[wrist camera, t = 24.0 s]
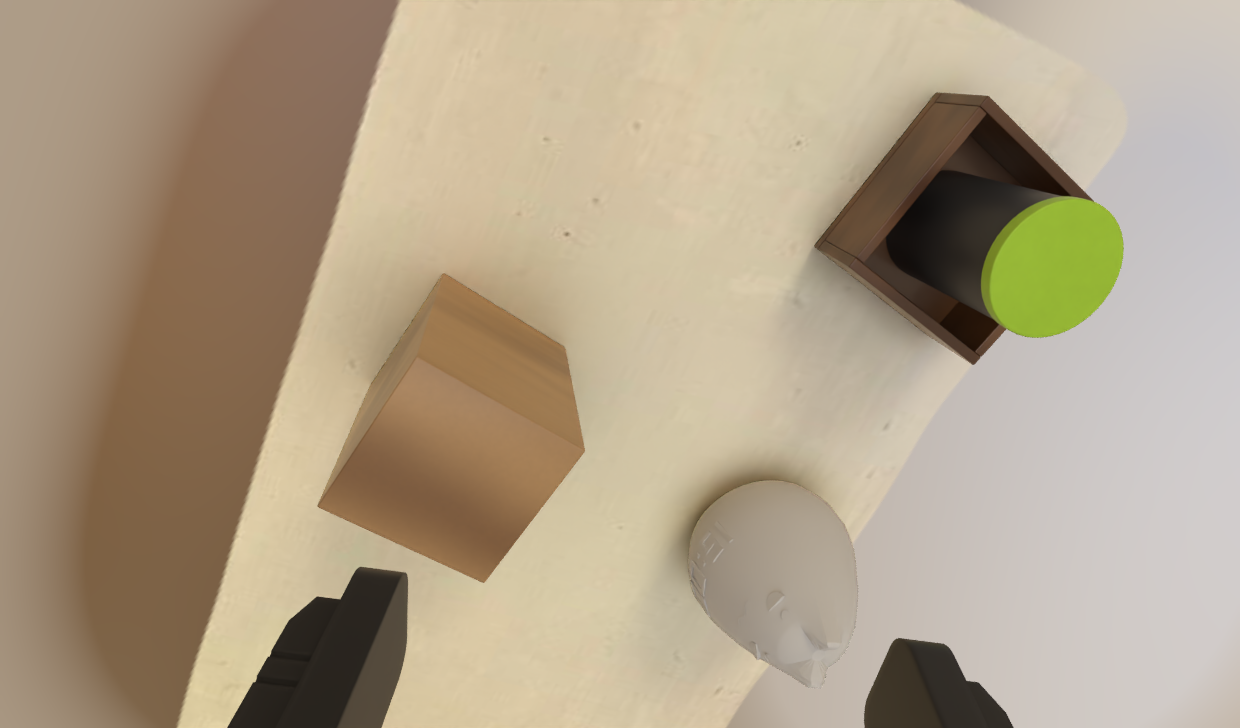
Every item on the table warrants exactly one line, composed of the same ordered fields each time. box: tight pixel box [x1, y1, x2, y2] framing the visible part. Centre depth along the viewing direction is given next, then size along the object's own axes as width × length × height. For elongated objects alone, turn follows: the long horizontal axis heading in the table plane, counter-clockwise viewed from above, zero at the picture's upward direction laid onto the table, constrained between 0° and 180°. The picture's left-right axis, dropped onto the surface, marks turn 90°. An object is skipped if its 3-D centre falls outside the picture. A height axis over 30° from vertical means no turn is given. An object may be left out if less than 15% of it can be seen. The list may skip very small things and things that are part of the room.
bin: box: [815, 93, 1094, 365], centre depth 39 cm, size 10×10×5 cm
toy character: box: [688, 480, 858, 688], centre depth 42 cm, size 10×10×12 cm
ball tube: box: [886, 170, 1124, 338], centre depth 36 cm, size 6×6×10 cm
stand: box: [318, 274, 585, 583], centre depth 35 cm, size 8×8×12 cm
